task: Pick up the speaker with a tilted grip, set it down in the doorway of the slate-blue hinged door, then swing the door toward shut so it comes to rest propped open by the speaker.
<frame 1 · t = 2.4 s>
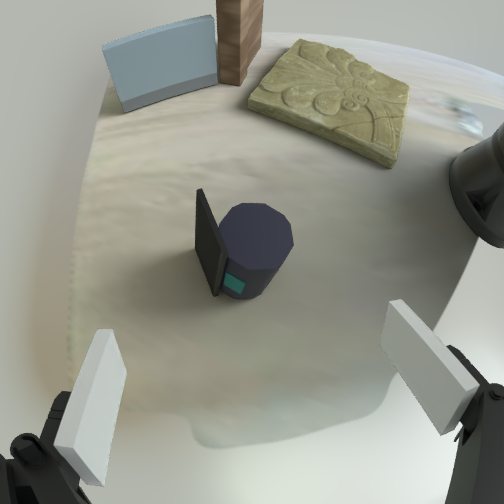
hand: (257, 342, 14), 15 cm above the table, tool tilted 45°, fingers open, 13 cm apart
speaker: (240, 266, 32), on the table
door: (163, 63, 34), point 6 cm above the table, hinge at 50.0°
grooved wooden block: (233, 78, 41), on the table
decorative tile: (337, 99, 41), on the table
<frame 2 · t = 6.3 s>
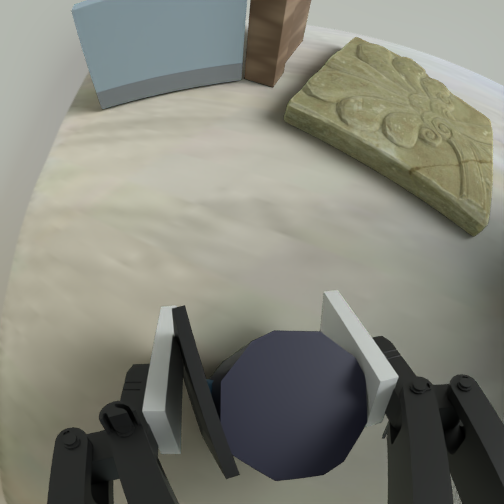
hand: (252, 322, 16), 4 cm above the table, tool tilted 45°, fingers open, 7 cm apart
speaker: (248, 389, 18), on the table, touching gripper
door: (164, 39, 22), point 6 cm above the table, hinge at 50.0°
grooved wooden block: (264, 75, 29), on the table
decorative tile: (404, 125, 29), on the table
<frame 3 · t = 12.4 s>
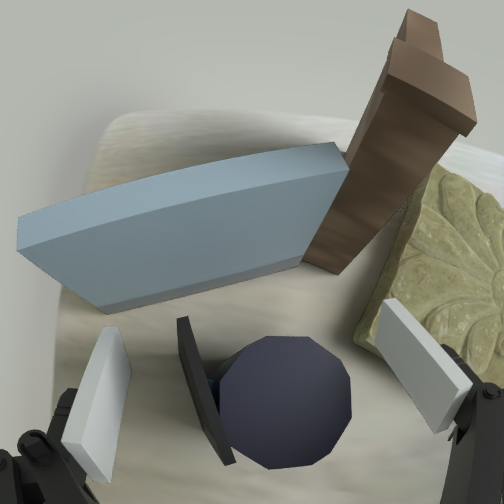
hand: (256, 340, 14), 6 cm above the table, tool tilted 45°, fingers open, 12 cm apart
speaker: (246, 388, 19), on the table
door: (190, 248, 16), point 6 cm above the table, hinge at 50.0°
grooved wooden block: (325, 249, 23), on the table
decorative tile: (475, 300, 23), on the table
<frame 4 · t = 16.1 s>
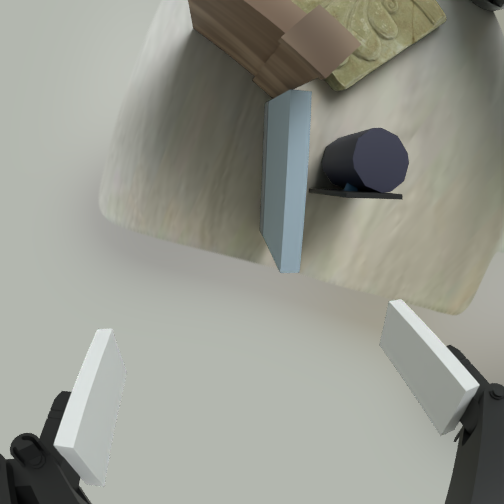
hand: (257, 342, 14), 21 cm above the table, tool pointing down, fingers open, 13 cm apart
speaker: (338, 161, 33), on the table
door: (280, 174, 27), point 6 cm above the table, hinge at 50.0°
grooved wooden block: (272, 79, 29), on the table
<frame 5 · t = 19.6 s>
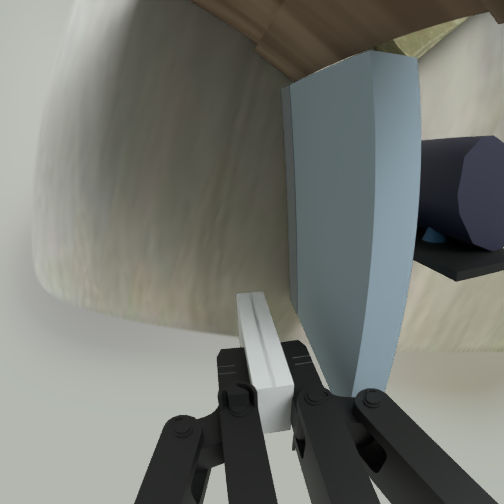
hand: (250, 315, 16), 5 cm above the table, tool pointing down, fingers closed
speaker: (399, 179, 20), on the table
door: (330, 228, 14), point 6 cm above the table, hinge at 48.2°, touching gripper
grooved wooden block: (289, 48, 16), on the table
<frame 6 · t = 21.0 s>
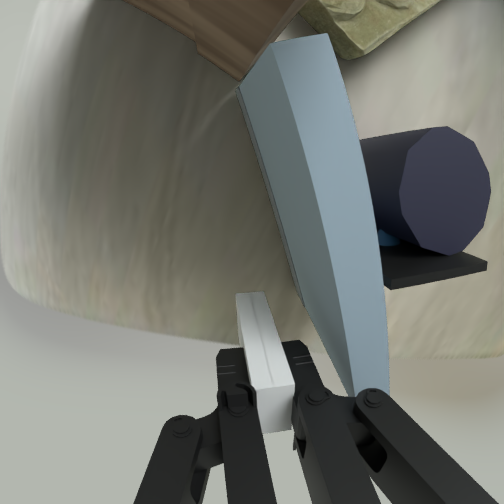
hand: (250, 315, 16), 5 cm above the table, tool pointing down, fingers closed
speaker: (357, 178, 20), on the table
door: (307, 221, 14), point 6 cm above the table, hinge at 34.8°, touching gripper
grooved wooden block: (234, 48, 16), on the table
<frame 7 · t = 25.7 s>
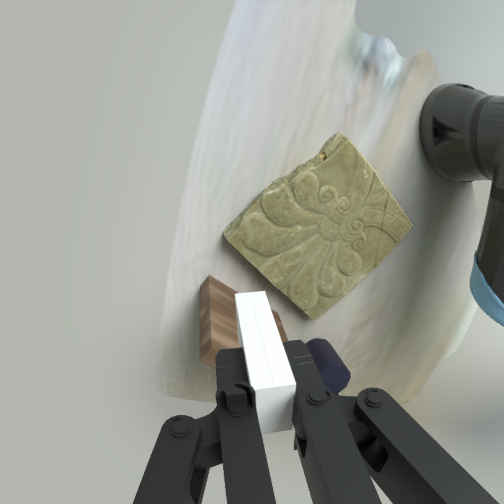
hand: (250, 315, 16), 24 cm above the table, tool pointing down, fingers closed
speaker: (310, 351, 50), on the table
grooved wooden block: (263, 315, 46), on the table
decorative tile: (320, 224, 42), on the table
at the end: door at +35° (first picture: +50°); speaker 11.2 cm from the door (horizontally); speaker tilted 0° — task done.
